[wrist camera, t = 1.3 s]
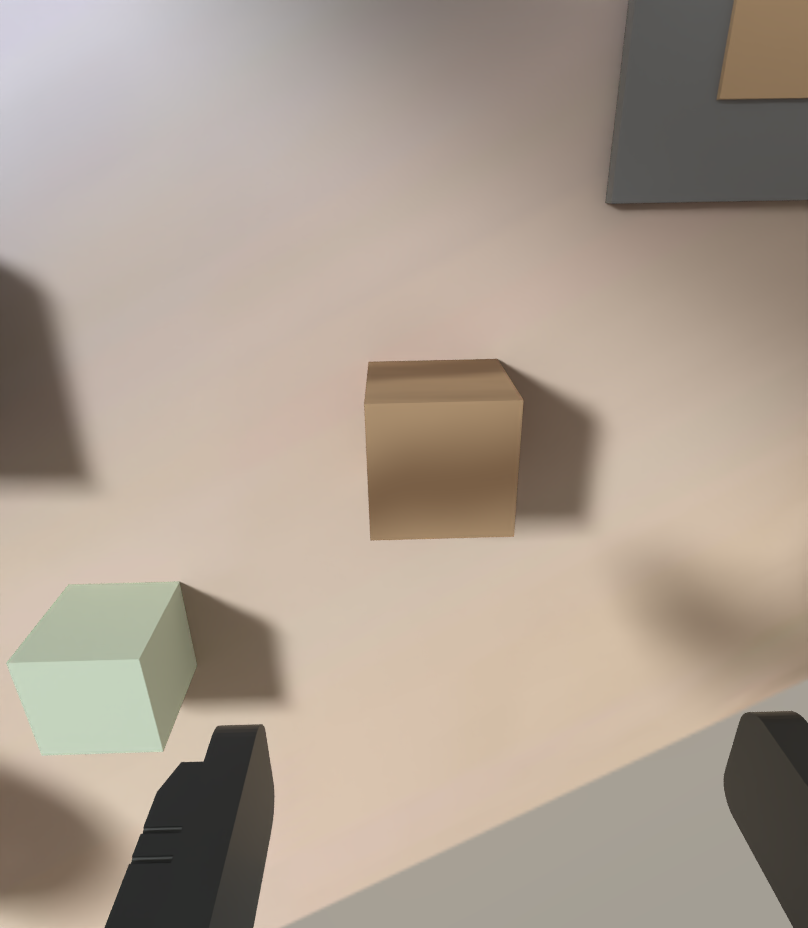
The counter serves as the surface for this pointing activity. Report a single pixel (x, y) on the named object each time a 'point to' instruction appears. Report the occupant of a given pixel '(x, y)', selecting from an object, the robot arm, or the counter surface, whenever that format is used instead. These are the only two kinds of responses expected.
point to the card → (712, 102)
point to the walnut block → (442, 449)
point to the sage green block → (106, 668)
